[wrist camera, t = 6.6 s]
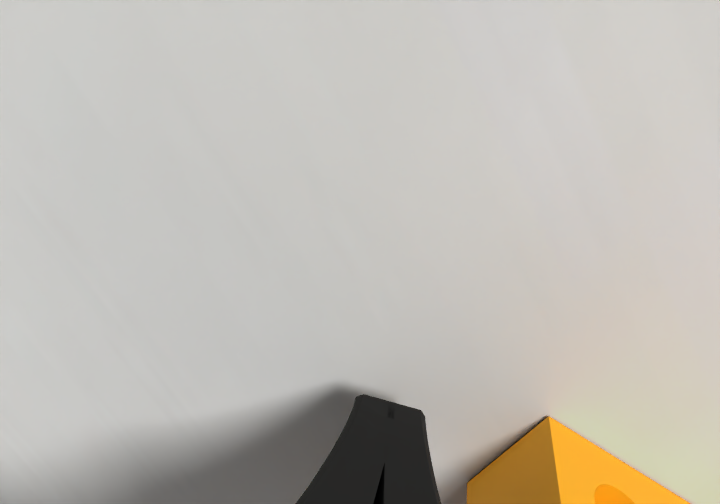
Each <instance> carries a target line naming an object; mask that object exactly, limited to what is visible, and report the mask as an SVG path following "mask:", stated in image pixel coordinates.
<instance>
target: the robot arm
mask: <svg viewBox="0 0 720 504" xmlns="http://www.w3.org/2000/svg"><path fill="white" fill-rule="evenodd" d="M296 504H441V502H440V498H439V494H438V490H437V486H436V481H435V477H434V472H433V467H432V462H431V457H430V452H429V446H428V439H427V432H426V423H425V416H424V414H423V413H422V411H421V410H418V409H415V408H411V407H407V406H404V405H400V404H397V403H393V402H389V401H386V400H382V399H379V398H375V397H371V396H368V395H364V394H363V395H360V396H358V397H356V400H355V403H354V407H353V409H352V412H351V414H350V417H349V419H348V421H347V423H346V425H345V427H344V429H343V431H342V433H341V435H340V437H339V439H338V440H337V442H336V444H335V446H334V448H333V449H332V451H331V453H330V454H329V456H328V457H327V459H326V460H325V462H324V464H323V465H322V467H321V468H320V470H319V471H318V473H317V475H316V476H315V478H314V479H313V481H312V482H311V484H310V485H309V486H308V488H307V489H306V491H305V492H304V493H303V495H302V496H301V497H300V499H299V500H298V501H297V503H296Z"/></svg>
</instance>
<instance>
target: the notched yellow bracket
mask: <svg viewBox="0 0 720 504" xmlns="http://www.w3.org/2000/svg"><path fill="white" fill-rule="evenodd" d="M467 504H690V503H689V502H687V501H685V500H684V499H682V498H680V497H679V496H677V495H676V494H674V493H672V492H671V491H669V490H668V489H666V488H664V487H663V486H661V485H659V484H658V483H656V482H655V481H653V480H651V479H650V478H648V477H646V476H645V475H643V474H642V473H640V472H638V471H637V470H635V469H634V468H632V467H630V466H629V465H627V464H625V463H624V462H622V461H621V460H619V459H617V458H616V457H614V456H612V455H611V454H609V453H608V452H606V451H604V450H603V449H601V448H599V447H598V446H596V445H595V444H593V443H591V442H590V441H588V440H587V439H585V438H583V437H582V436H580V435H578V434H577V433H575V432H574V431H572V430H570V429H569V428H567V427H565V426H564V425H562V424H561V423H559V422H557V421H556V420H554V419H553V418H551V417H549V416H548V417H547V418H546V419H545V420H543V421H542V422H541V423H540V424H538V425H537V426H536V427H535V428H534V429H532V430H531V431H530V432H529V433H527V434H526V435H525V436H524V437H523V438H521V439H520V440H519V441H518V442H516V443H515V444H514V445H513V446H512V447H510V448H509V449H508V450H507V451H505V452H504V453H503V454H502V455H501V456H499V457H498V458H497V459H496V460H495V461H493V462H492V463H491V464H490V465H488V466H487V467H486V468H485V469H484V470H482V471H481V472H480V473H479V474H477V475H476V476H475V477H474V478H473V479H471V480H470V481H469V482H468V483H467Z"/></svg>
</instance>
